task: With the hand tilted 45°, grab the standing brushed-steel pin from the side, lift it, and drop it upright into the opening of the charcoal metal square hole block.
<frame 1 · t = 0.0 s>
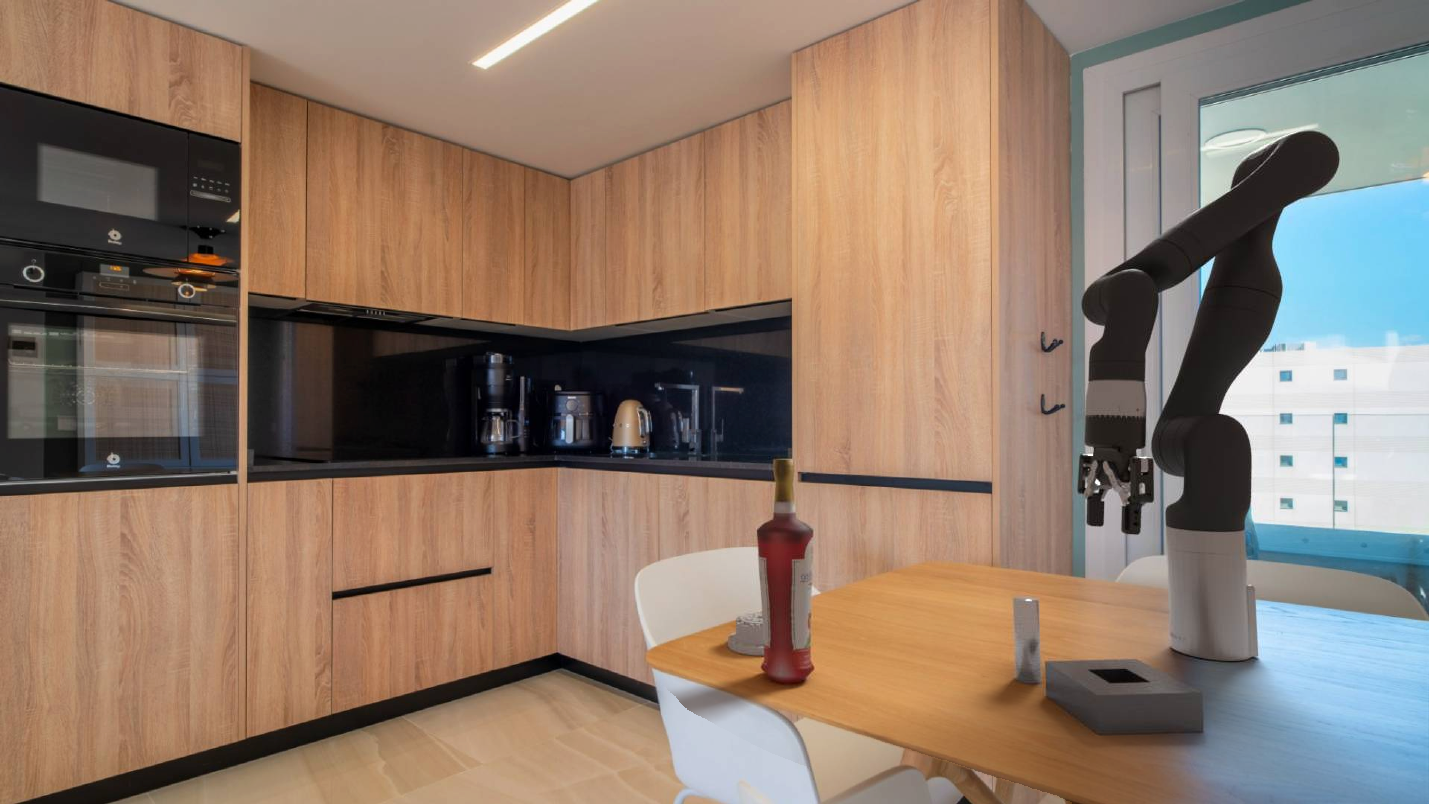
hand: (1112, 529, 100), 17 cm above the table, tool pointing down, fingers open, 8 cm apart
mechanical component: (761, 648, 106), on the table
steel pin: (1028, 679, 90), on the table
liquor: (787, 679, 92), on the table
square hole block: (1119, 712, 79), on the table
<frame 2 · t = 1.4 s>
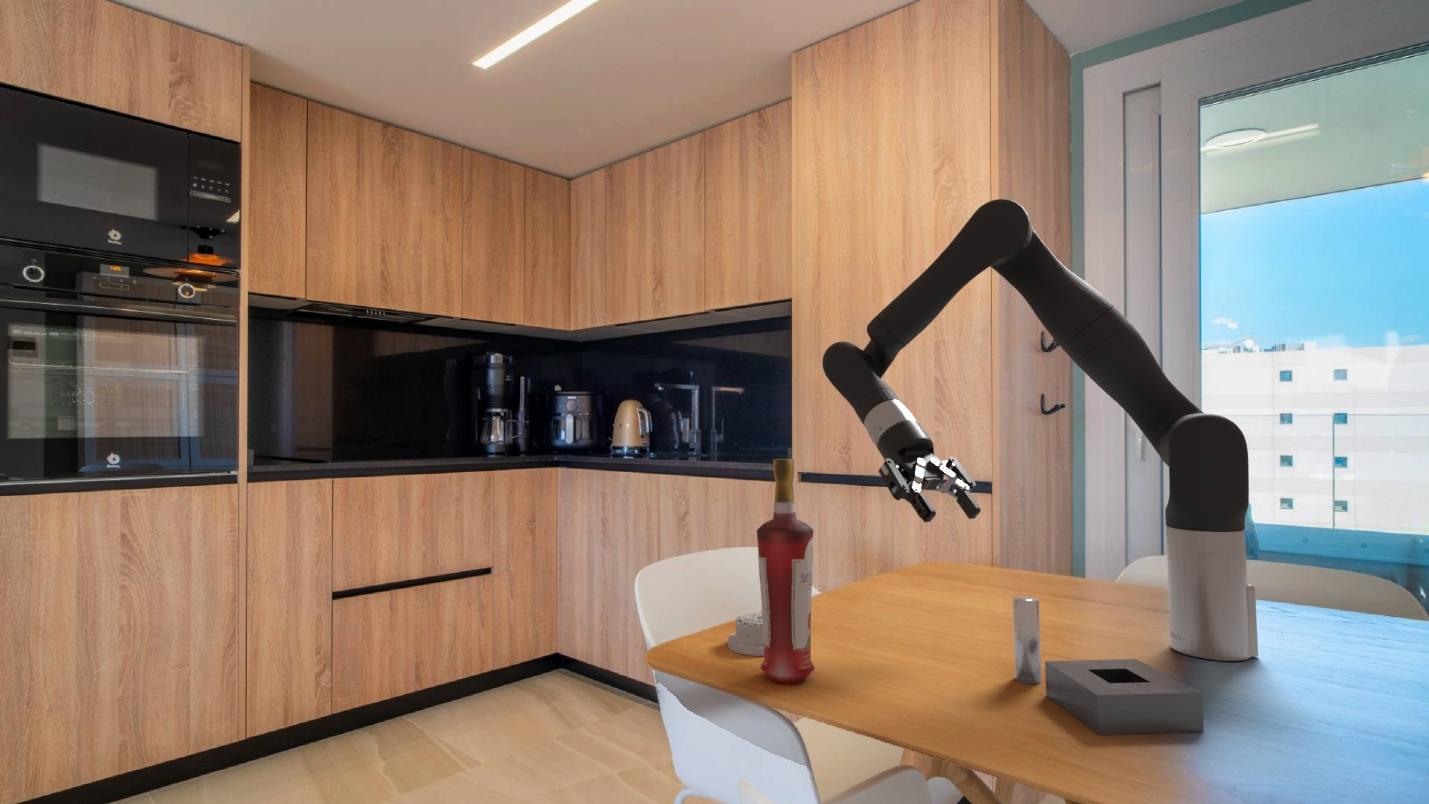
hand: (953, 516, 101), 19 cm above the table, tool tilted 45°, fingers open, 8 cm apart
nothing on the table moved.
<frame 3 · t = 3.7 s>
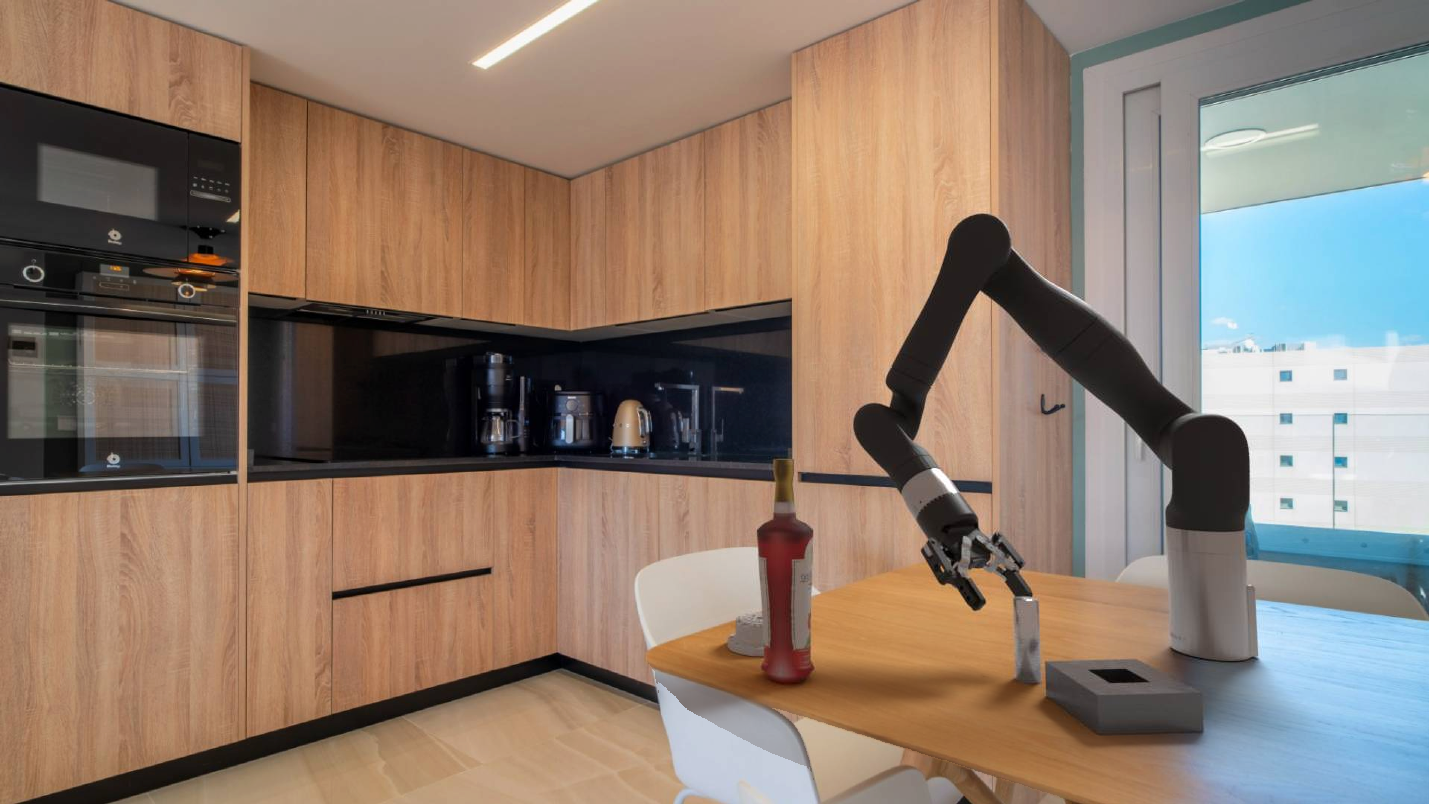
hand: (1004, 603, 93), 9 cm above the table, tool tilted 45°, fingers open, 8 cm apart
nothing on the table moved.
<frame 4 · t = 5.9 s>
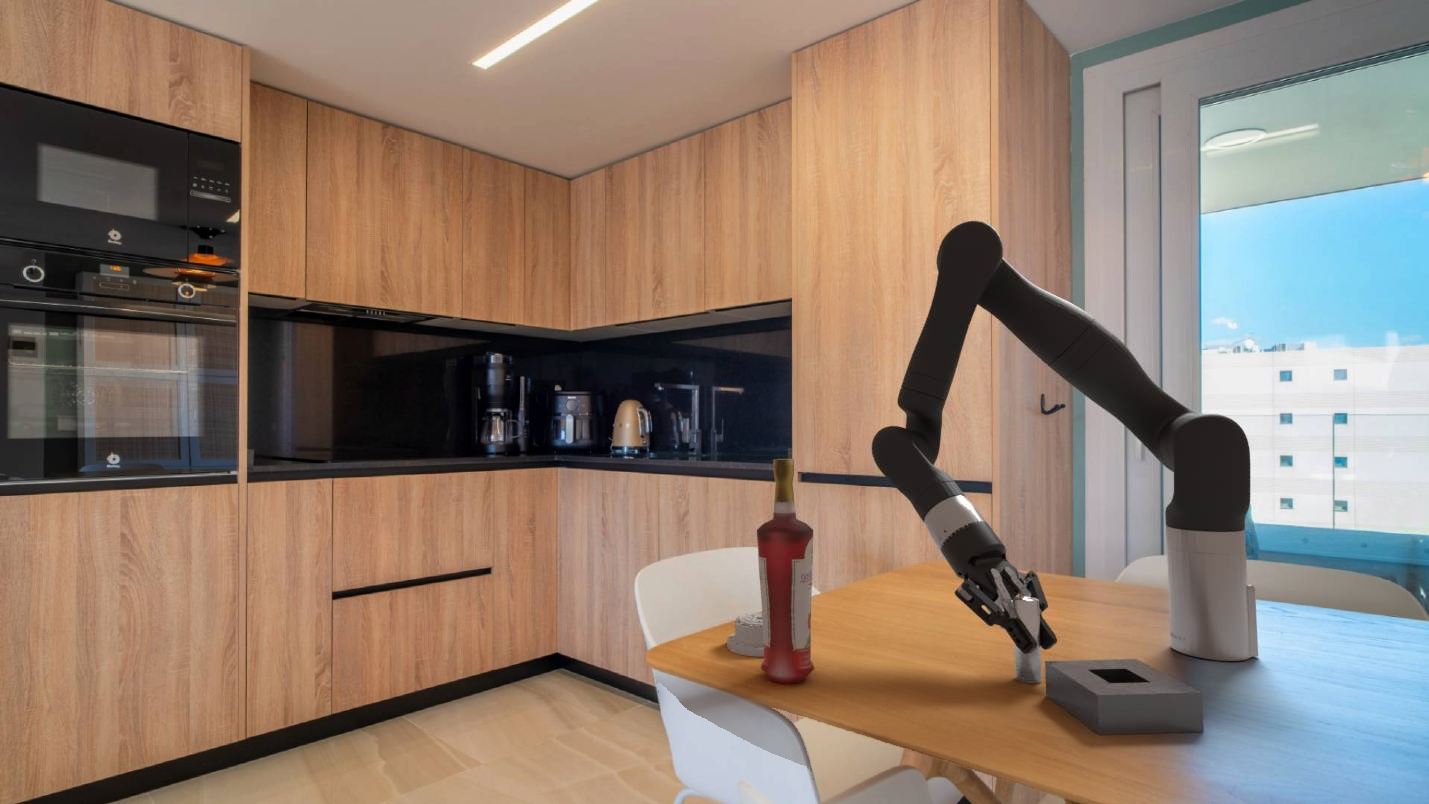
hand: (1041, 647, 88), 4 cm above the table, tool tilted 45°, fingers closed on steel pin, 3 cm apart
steel pin: (1028, 679, 90), on the table, touching gripper
everything else where it was.
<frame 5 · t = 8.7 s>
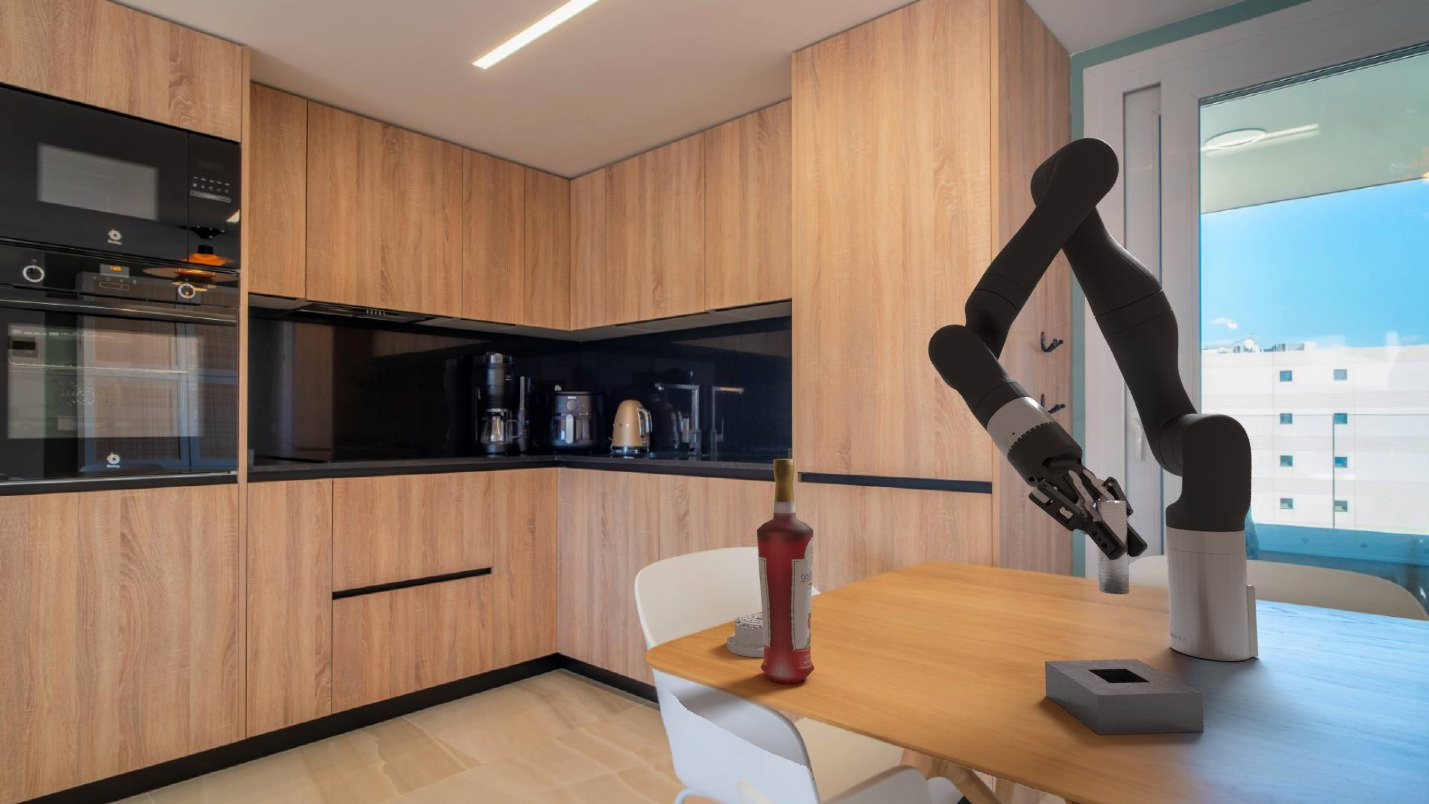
hand: (1130, 553, 78), 18 cm above the table, tool tilted 45°, fingers closed on steel pin, 3 cm apart
steel pin: (1113, 591, 80), point 13 cm above the table, touching gripper
everything else where it was.
when the fingers open (6 cm above the table, at t = 11.5 s): steel pin drops 2 cm, resting in square hole block.
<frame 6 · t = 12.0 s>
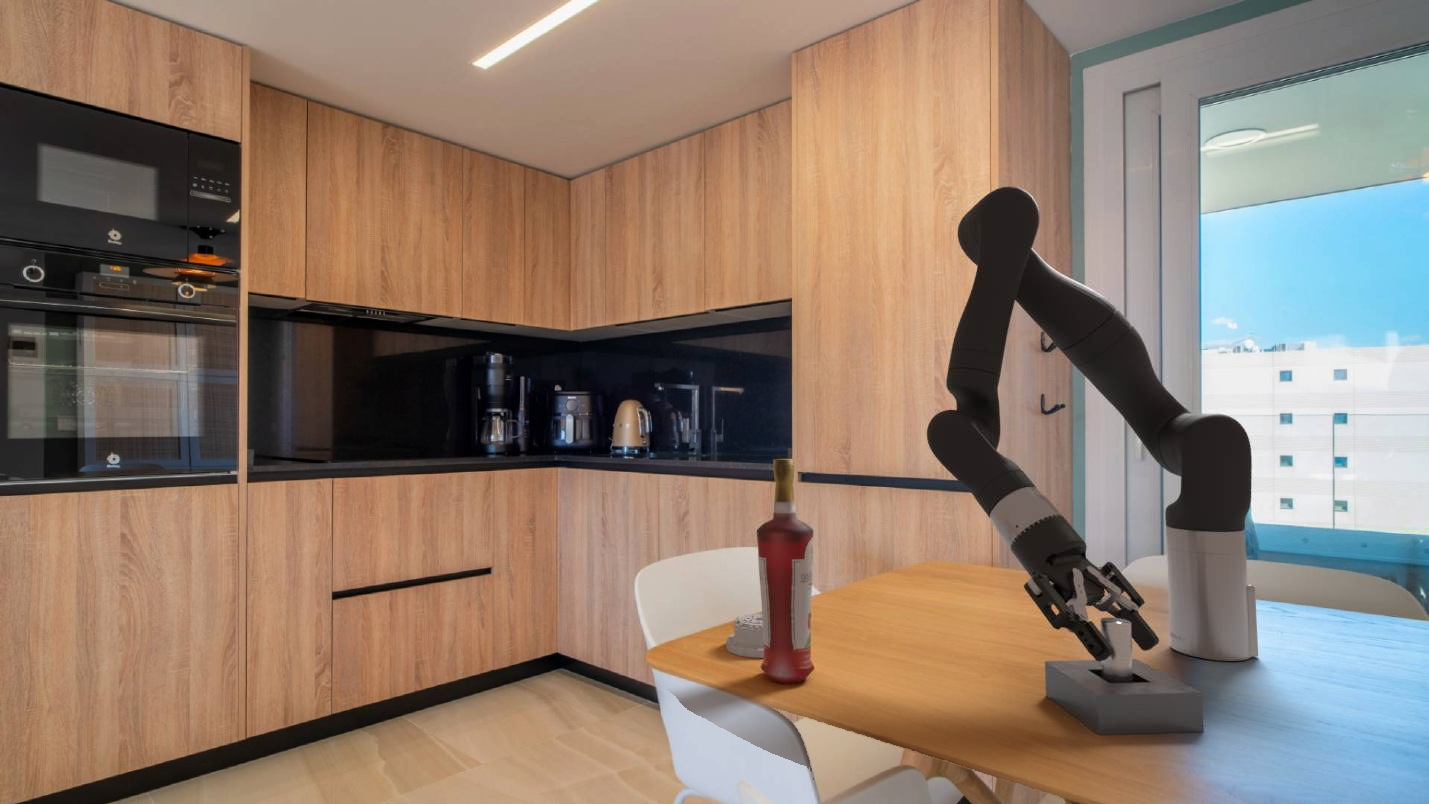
hand: (1130, 651, 78), 7 cm above the table, tool tilted 45°, fingers open, 7 cm apart
steel pin: (1118, 712, 79), resting in square hole block
everything else where it was.
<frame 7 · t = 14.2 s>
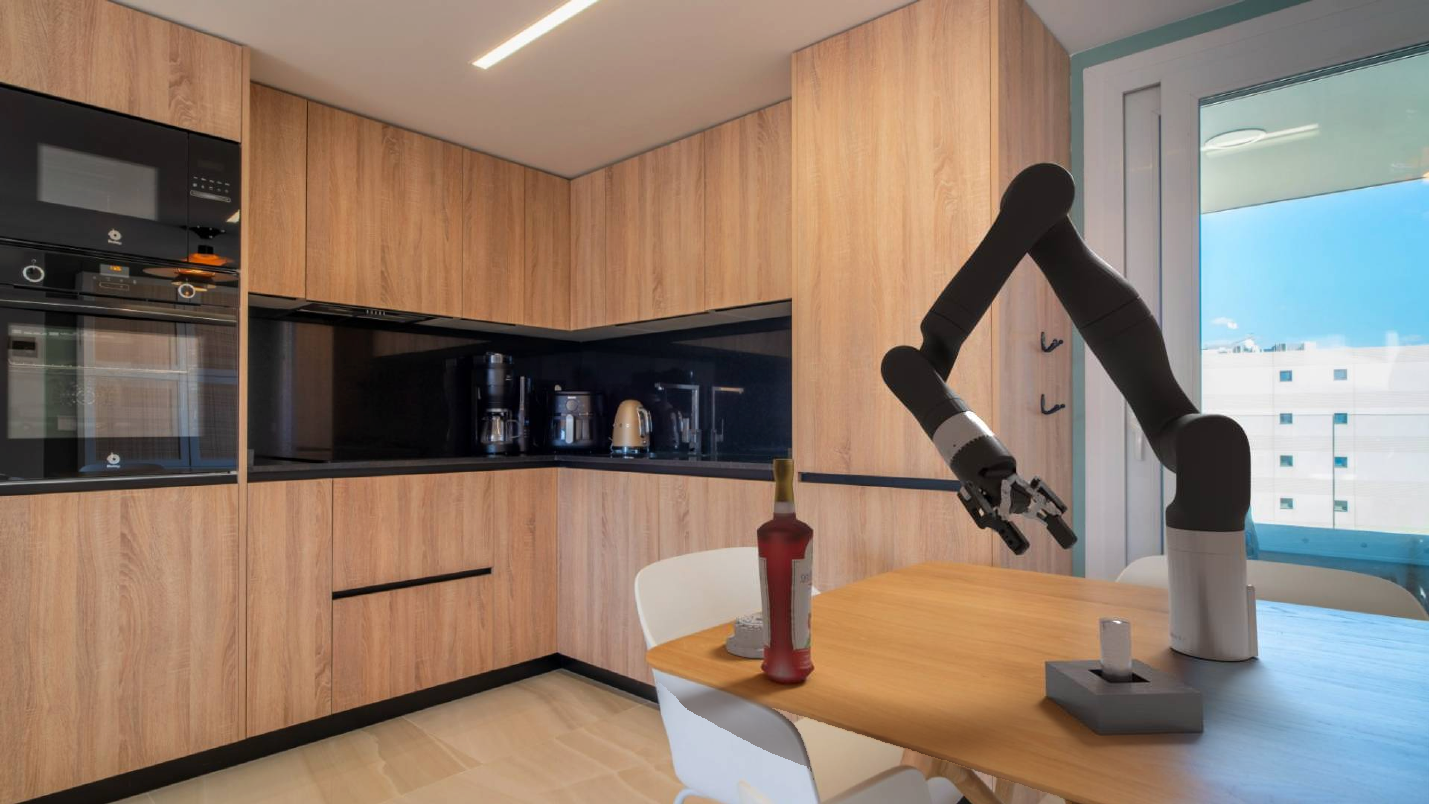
hand: (1048, 548, 87), 17 cm above the table, tool tilted 45°, fingers open, 8 cm apart
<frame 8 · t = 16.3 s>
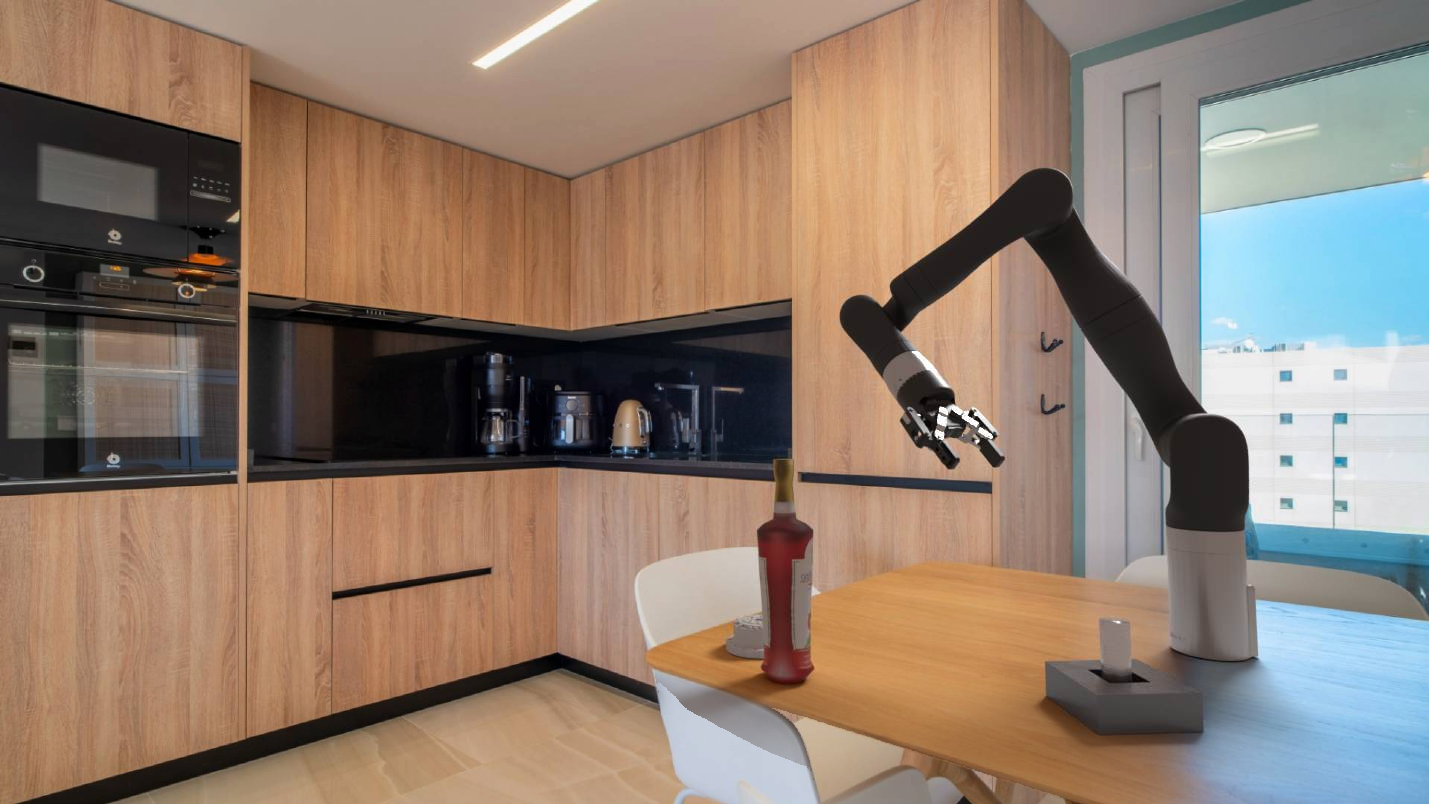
hand: (978, 464, 99), 27 cm above the table, tool tilted 45°, fingers open, 8 cm apart
at the end: steel pin 0.1 cm off-centre on the square hole block, point 0.0 cm above the square hole block's base; steel pin tilted 0°; the gripper is holding nothing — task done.
